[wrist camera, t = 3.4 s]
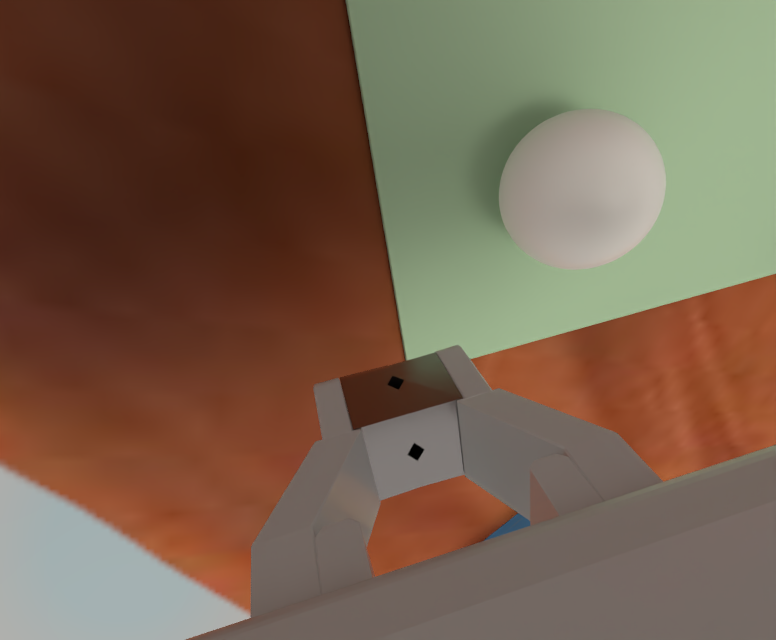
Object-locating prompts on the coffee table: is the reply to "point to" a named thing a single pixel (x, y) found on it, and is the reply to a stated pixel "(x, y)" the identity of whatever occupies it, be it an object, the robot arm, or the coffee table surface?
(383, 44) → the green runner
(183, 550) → the coffee table surface
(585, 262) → the ball
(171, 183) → the coffee table surface
